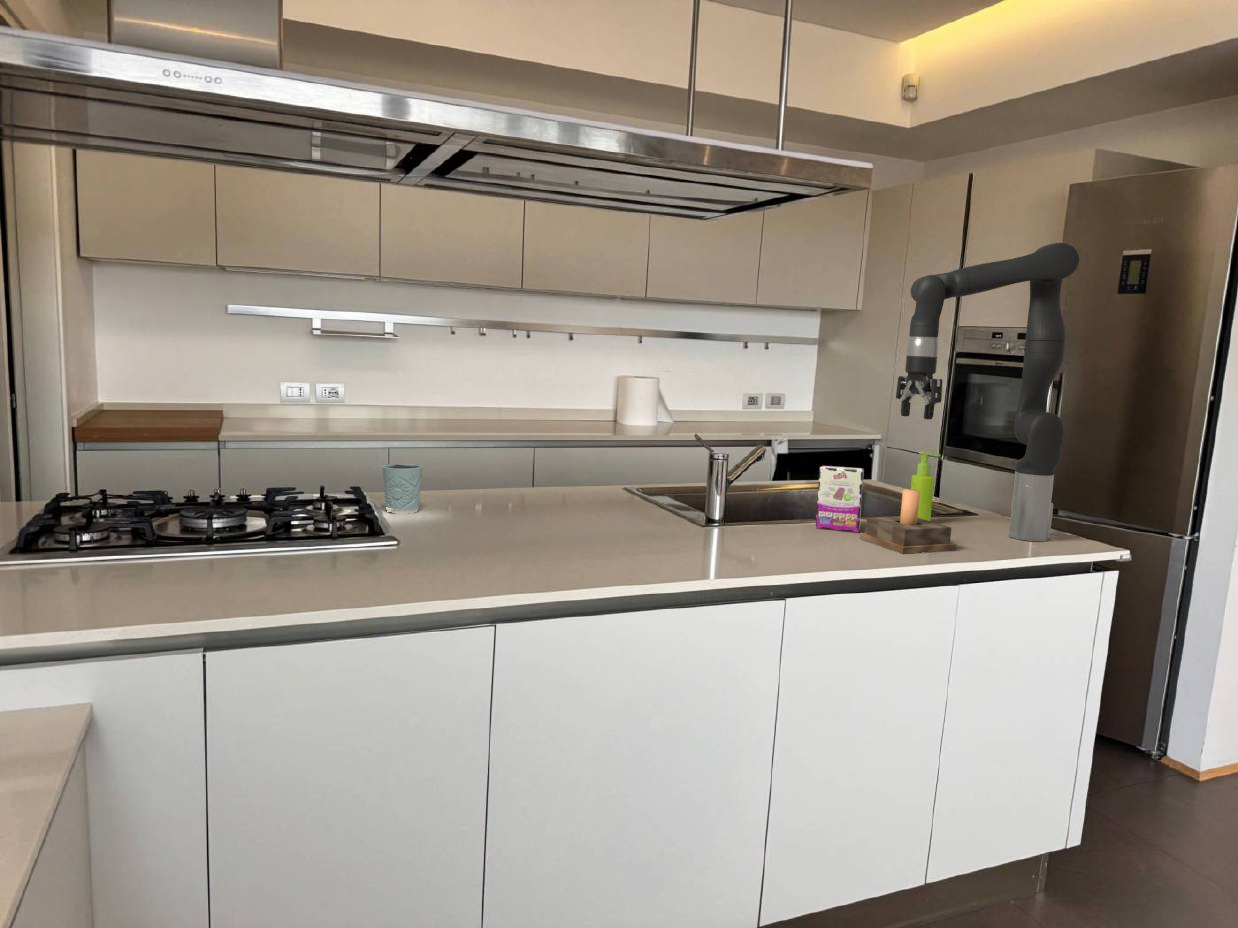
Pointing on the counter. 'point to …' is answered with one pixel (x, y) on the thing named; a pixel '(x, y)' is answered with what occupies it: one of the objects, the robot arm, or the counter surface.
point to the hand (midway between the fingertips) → (916, 417)
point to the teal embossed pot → (402, 485)
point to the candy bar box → (839, 498)
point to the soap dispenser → (924, 486)
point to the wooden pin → (909, 507)
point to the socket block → (908, 535)
